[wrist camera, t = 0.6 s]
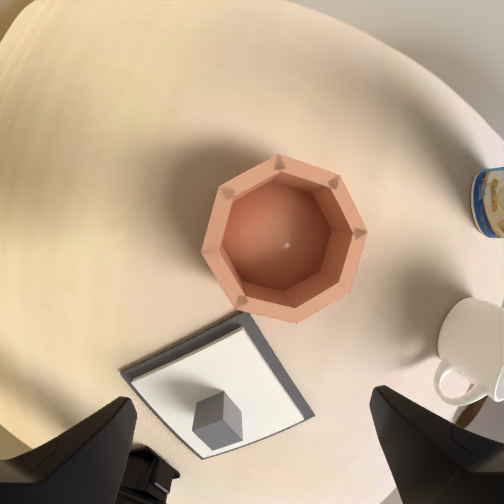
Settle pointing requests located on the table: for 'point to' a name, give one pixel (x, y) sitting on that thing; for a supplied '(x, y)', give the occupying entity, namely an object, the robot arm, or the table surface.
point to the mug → (473, 349)
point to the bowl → (284, 239)
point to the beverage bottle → (489, 202)
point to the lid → (219, 395)
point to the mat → (210, 336)
